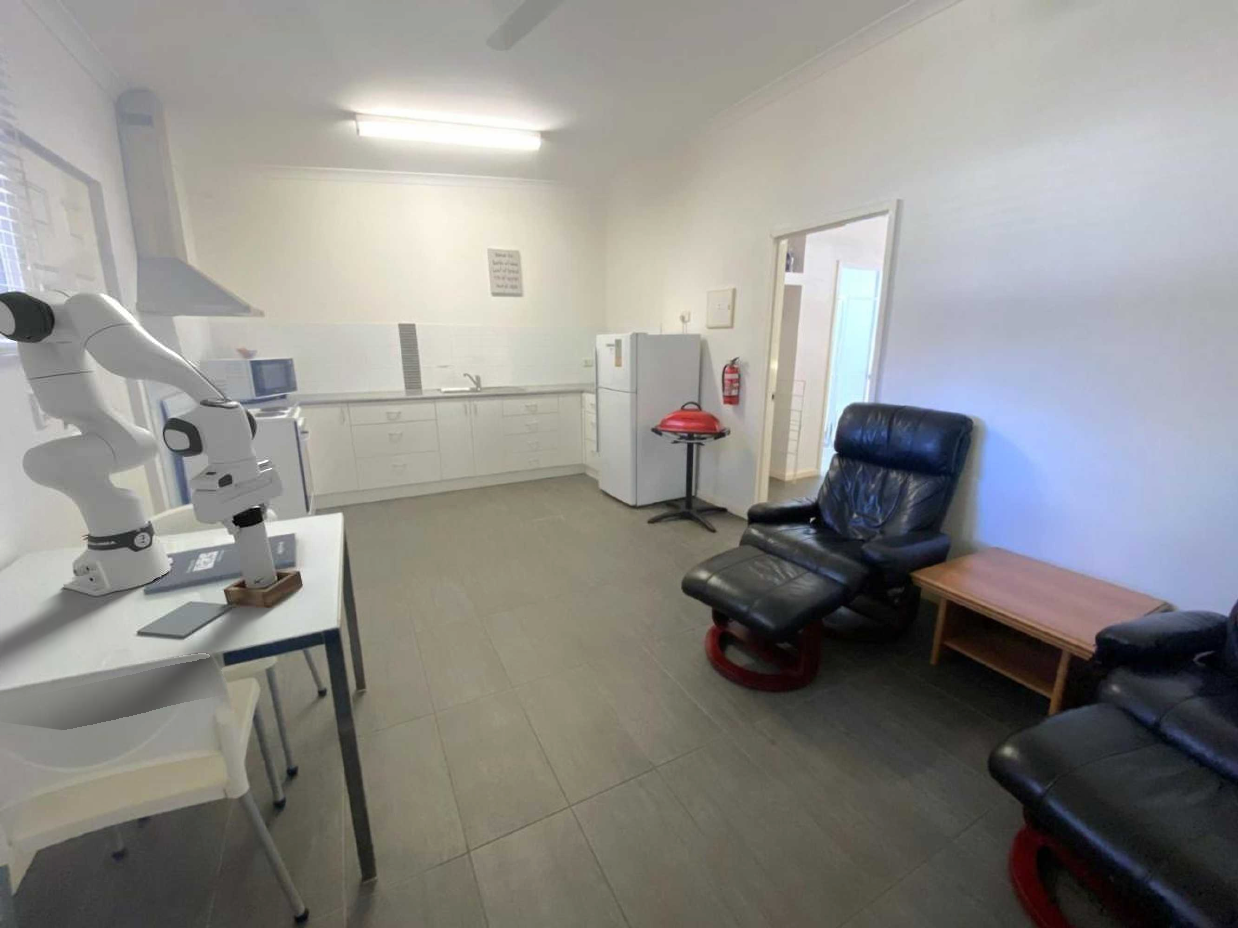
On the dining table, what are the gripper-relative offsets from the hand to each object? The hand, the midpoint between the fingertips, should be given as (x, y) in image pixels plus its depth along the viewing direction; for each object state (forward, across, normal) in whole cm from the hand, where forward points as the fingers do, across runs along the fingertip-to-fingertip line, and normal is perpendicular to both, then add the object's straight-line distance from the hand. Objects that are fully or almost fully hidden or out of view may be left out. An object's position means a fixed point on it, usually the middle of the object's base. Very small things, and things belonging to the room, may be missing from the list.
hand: (248, 526), depth 120 cm
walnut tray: (+18, 0, 0) cm, 18 cm away
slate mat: (+18, +12, -9) cm, 23 cm away
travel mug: (+16, 0, 0) cm, 16 cm away
